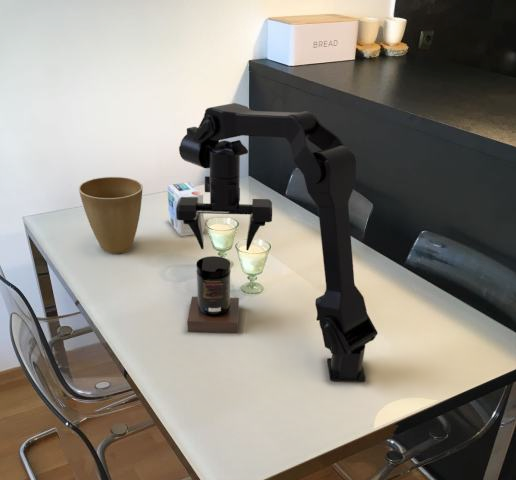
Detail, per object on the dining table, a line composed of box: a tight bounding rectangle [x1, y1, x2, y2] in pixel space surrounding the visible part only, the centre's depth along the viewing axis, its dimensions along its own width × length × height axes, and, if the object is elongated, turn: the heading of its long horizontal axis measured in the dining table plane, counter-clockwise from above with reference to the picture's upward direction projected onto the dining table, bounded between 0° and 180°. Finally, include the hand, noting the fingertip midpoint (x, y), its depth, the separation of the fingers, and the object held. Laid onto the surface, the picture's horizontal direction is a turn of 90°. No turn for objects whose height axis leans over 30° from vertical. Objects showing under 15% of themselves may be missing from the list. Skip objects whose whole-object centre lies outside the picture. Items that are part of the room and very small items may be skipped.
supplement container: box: [195, 255, 232, 316], centre depth 120 cm, size 7×7×10 cm
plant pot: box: [78, 176, 144, 255], centre depth 147 cm, size 15×15×16 cm
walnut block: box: [186, 296, 240, 334], centre depth 124 cm, size 10×10×2 cm
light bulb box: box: [167, 181, 205, 237], centre depth 160 cm, size 11×7×11 cm, turn 25°
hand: (224, 249), depth 123 cm, fingers open, 9 cm apart
